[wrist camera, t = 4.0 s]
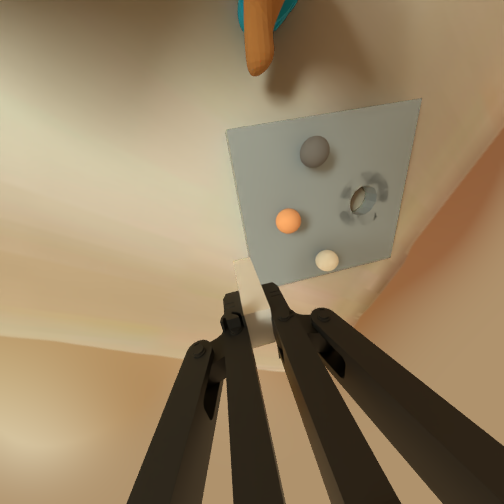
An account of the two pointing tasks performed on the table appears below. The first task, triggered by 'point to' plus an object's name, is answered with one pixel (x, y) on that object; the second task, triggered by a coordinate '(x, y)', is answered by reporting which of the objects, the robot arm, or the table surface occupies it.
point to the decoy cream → (327, 260)
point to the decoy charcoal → (314, 151)
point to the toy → (261, 29)
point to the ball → (288, 220)
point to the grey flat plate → (322, 188)
